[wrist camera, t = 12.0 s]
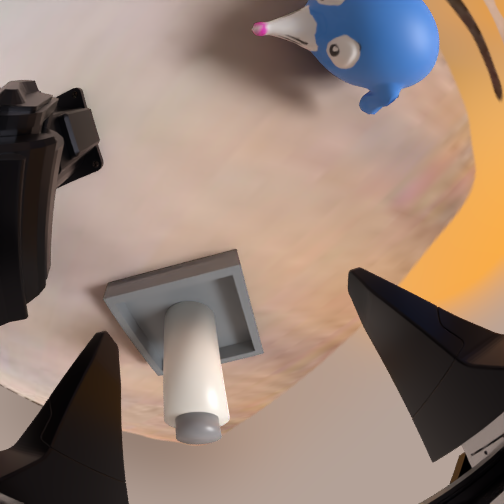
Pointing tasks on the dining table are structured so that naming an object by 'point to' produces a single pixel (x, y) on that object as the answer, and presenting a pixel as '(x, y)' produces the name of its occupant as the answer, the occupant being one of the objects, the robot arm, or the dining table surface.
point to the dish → (180, 290)
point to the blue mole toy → (365, 42)
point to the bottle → (193, 374)
